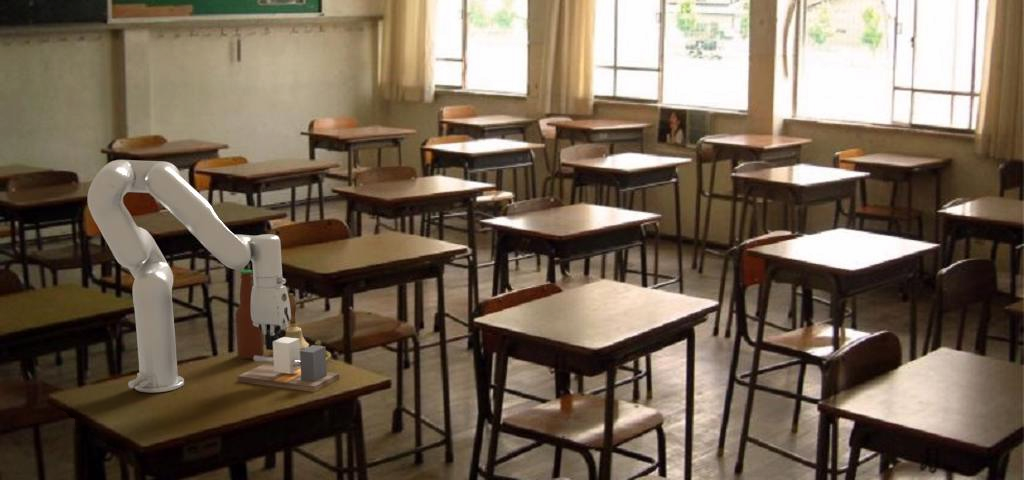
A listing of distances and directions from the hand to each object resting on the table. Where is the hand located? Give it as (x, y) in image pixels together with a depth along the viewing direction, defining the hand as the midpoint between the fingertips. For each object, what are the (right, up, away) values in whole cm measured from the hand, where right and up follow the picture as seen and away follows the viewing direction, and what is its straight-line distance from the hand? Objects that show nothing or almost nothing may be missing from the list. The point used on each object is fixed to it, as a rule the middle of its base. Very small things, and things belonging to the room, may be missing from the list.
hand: (272, 348), depth 332 cm
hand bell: (+1, -2, +31) cm, 32 cm away
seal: (+8, -5, +19) cm, 21 cm away
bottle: (-10, -4, +22) cm, 25 cm away
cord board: (+5, -8, -1) cm, 10 cm away
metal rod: (+2, -4, 0) cm, 5 cm away
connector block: (+12, -7, -4) cm, 15 cm away
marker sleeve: (+4, -6, -1) cm, 7 cm away
